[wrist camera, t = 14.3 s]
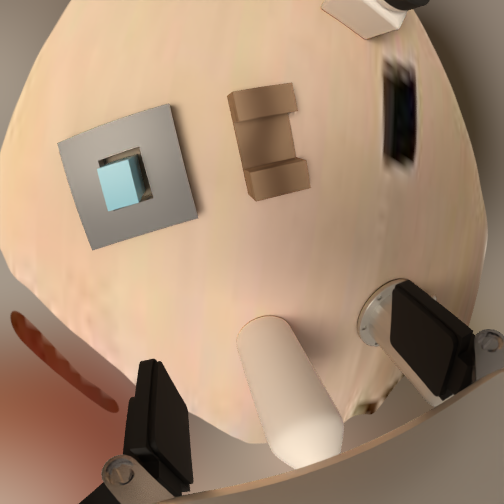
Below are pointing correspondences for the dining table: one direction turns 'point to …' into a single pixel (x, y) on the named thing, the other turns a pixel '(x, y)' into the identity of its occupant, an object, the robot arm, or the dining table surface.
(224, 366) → the dining table surface
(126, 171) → the plug
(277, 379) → the bottle
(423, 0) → the medicine bottle
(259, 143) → the brown notched block
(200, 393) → the dining table surface
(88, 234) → the port block
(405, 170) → the dining table surface
